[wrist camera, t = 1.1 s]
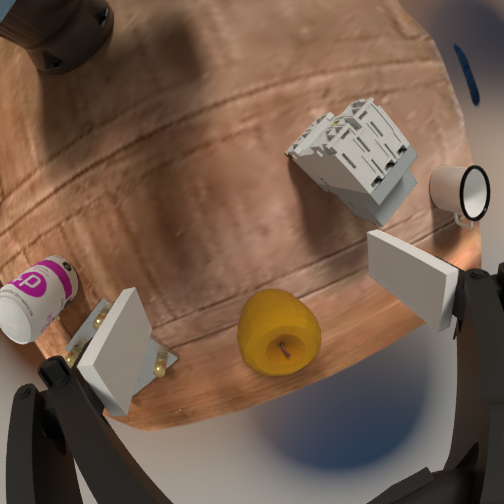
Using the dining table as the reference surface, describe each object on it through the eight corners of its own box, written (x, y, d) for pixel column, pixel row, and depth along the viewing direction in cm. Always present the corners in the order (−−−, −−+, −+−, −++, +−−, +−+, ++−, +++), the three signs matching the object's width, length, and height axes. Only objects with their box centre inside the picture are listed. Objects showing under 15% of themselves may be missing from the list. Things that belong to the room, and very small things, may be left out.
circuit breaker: (350, 218, 41) (409, 244, 27) (284, 152, 37) (325, 144, 23) (378, 184, 40) (443, 196, 26) (317, 117, 36) (370, 95, 22)
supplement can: (45, 246, 36) (-10, 280, 22) (84, 265, 38) (35, 309, 24) (40, 287, 38) (-7, 329, 23) (76, 306, 40) (35, 357, 25)
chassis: (66, 346, 41) (56, 361, 37) (105, 295, 40) (94, 309, 35) (130, 395, 46) (126, 412, 41) (178, 355, 44) (175, 373, 40)
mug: (421, 171, 40) (457, 175, 32) (451, 156, 40) (485, 158, 31) (434, 231, 44) (467, 244, 35) (462, 212, 44) (494, 222, 35)
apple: (253, 346, 45) (265, 399, 33) (220, 297, 42) (222, 347, 30) (311, 315, 45) (340, 362, 33) (284, 263, 42) (311, 301, 29)
